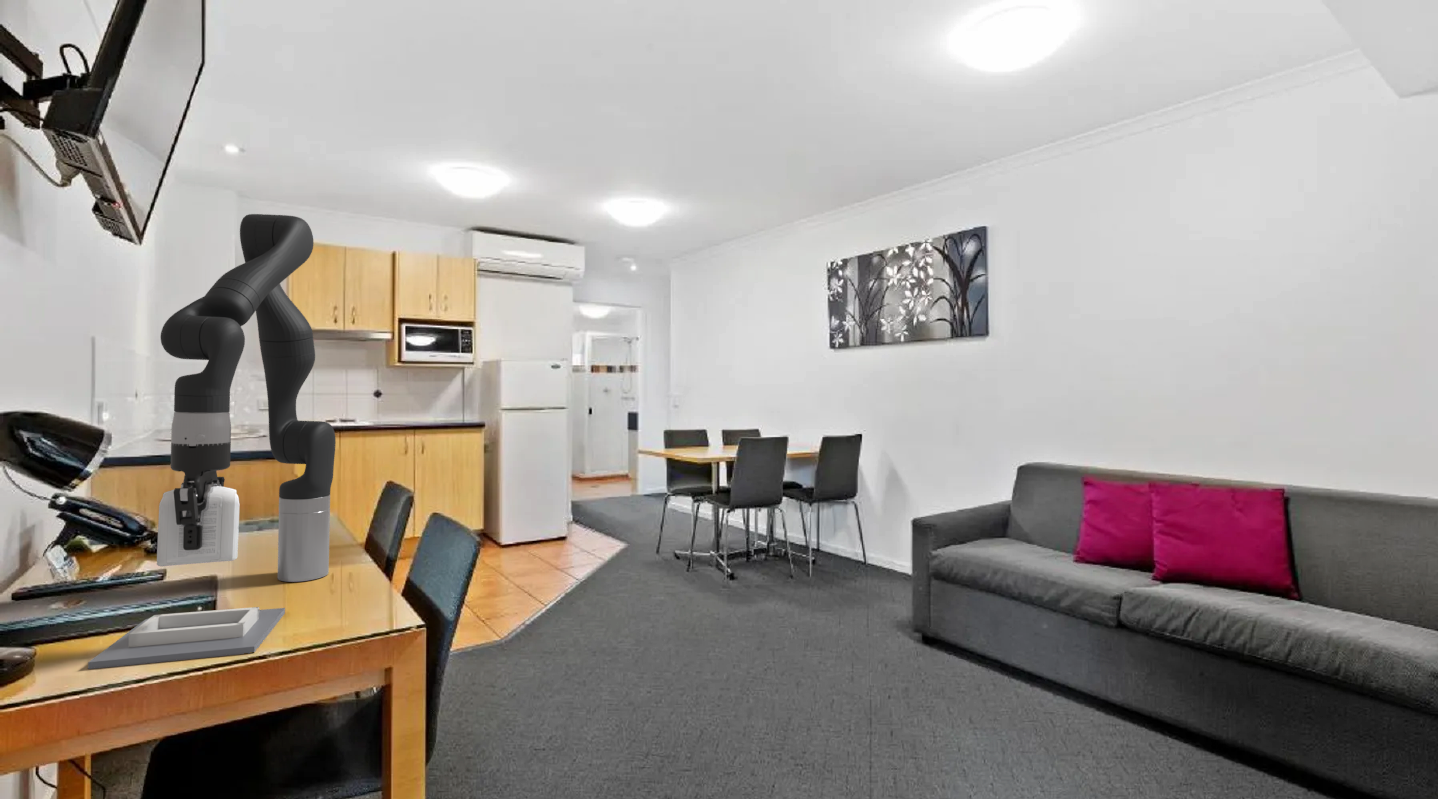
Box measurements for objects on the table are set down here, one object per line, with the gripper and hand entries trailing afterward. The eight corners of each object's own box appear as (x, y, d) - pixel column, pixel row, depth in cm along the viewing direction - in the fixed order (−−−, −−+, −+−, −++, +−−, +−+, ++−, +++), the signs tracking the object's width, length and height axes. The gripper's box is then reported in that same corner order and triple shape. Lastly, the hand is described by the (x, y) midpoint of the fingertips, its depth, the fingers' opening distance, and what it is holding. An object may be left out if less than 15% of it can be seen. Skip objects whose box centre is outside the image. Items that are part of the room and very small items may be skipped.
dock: (146, 624, 110) (146, 607, 110) (284, 613, 117) (285, 596, 117) (88, 669, 93) (88, 648, 93) (254, 652, 100) (254, 633, 100)
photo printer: (239, 555, 109) (241, 482, 109) (237, 561, 106) (239, 485, 106) (159, 562, 104) (161, 485, 104) (154, 569, 100) (156, 489, 100)
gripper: (190, 436, 110) (188, 536, 110) (152, 444, 96) (149, 558, 97) (243, 436, 112) (241, 534, 113) (213, 444, 99) (211, 555, 99)
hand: (199, 544), depth 105 cm, fingers closed on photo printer, 4 cm apart
